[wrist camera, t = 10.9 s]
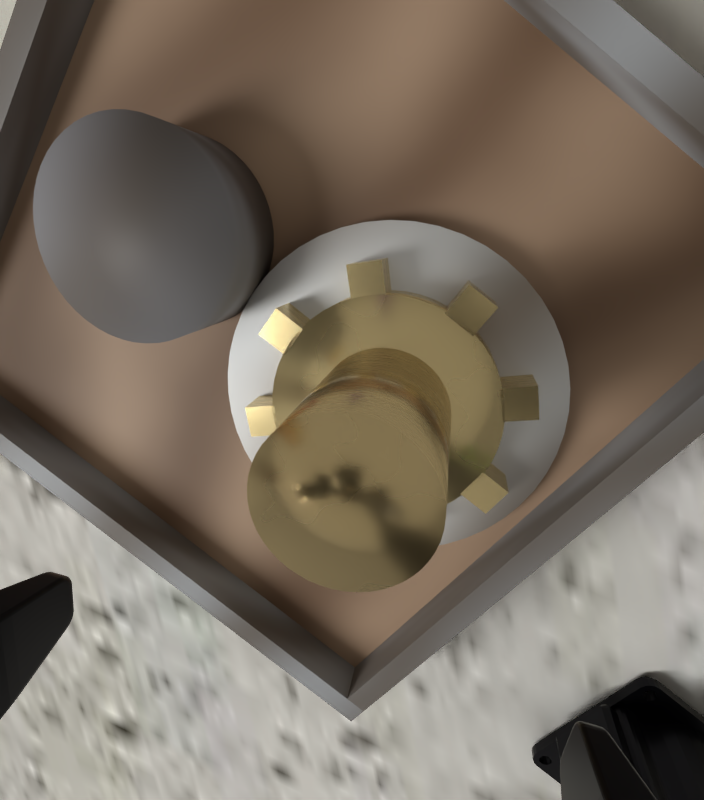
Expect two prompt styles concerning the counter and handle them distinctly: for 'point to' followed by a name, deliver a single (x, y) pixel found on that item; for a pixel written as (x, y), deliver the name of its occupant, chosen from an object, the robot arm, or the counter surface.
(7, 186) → the wooden serving tray
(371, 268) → the gear
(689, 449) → the counter surface
